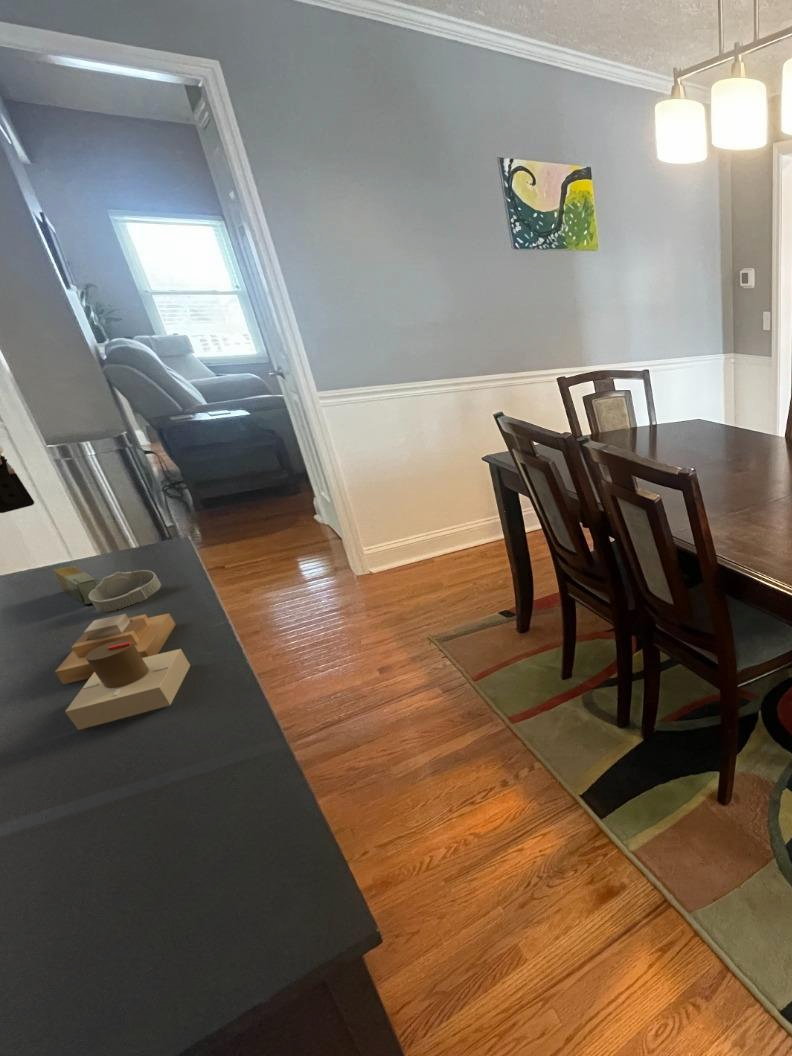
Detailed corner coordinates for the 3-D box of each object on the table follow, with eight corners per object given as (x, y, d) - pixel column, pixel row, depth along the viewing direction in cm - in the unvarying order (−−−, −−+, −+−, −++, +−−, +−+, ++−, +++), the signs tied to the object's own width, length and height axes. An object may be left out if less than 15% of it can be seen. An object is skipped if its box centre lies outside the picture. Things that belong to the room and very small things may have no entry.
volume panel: (78, 730, 74) (63, 710, 73) (107, 686, 82) (95, 667, 80) (170, 705, 78) (158, 686, 76) (190, 665, 86) (180, 647, 84)
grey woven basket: (153, 585, 109) (139, 561, 107) (173, 590, 107) (159, 566, 104) (88, 610, 101) (72, 584, 99) (108, 616, 99) (92, 590, 97)
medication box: (106, 600, 105) (97, 579, 103) (85, 606, 102) (75, 584, 101) (81, 584, 110) (72, 564, 108) (60, 589, 108) (51, 569, 106)
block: (63, 684, 83) (47, 661, 81) (96, 642, 92) (82, 620, 90) (152, 662, 87) (138, 640, 85) (175, 624, 96) (163, 603, 94)
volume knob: (98, 692, 76) (77, 661, 74) (110, 674, 79) (91, 644, 77) (143, 680, 78) (124, 650, 75) (153, 663, 81) (135, 634, 79)
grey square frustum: (90, 642, 86) (83, 631, 85) (99, 630, 88) (93, 620, 88) (123, 634, 87) (116, 624, 86) (131, 623, 90) (125, 613, 89)
